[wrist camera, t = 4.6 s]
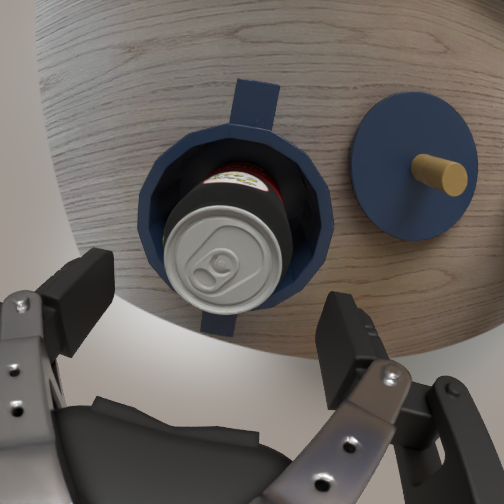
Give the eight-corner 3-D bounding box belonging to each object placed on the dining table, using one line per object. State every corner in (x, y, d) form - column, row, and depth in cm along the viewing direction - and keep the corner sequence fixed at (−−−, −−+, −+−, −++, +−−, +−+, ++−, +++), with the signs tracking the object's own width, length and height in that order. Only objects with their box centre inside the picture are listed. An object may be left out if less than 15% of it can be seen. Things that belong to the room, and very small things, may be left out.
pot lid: (331, 220, 25) (350, 249, 19) (363, 71, 20) (393, 57, 14) (448, 247, 25) (483, 276, 20) (481, 123, 20) (524, 128, 15)
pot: (164, 277, 28) (137, 325, 21) (186, 84, 21) (154, 69, 14) (288, 299, 28) (295, 353, 21) (333, 109, 21) (363, 103, 15)
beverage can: (297, 203, 24) (325, 273, 13) (237, 251, 26) (219, 345, 15) (244, 143, 22) (226, 158, 11) (185, 195, 24) (124, 256, 13)
